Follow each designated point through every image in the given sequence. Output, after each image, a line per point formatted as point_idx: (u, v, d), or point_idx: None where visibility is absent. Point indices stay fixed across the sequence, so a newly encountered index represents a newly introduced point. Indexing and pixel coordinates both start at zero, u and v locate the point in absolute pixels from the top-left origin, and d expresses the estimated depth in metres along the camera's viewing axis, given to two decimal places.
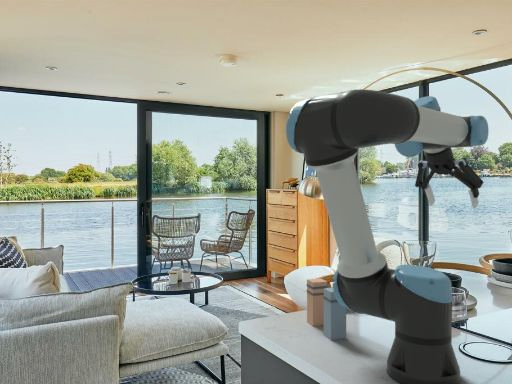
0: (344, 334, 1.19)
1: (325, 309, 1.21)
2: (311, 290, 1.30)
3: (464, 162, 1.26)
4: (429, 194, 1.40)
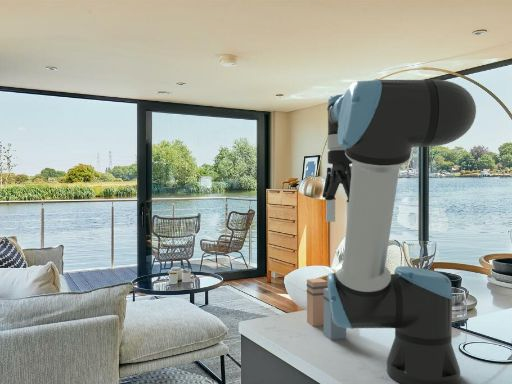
0: (344, 334, 1.19)
1: (325, 309, 1.21)
2: (311, 290, 1.30)
3: (352, 168, 1.19)
4: (328, 208, 1.32)
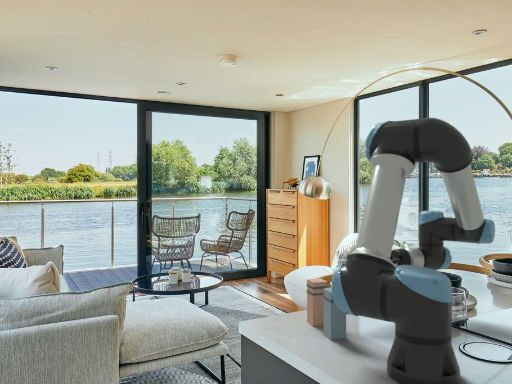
0: (344, 334, 1.19)
1: (325, 309, 1.21)
2: (311, 290, 1.30)
3: (394, 265, 1.32)
4: None
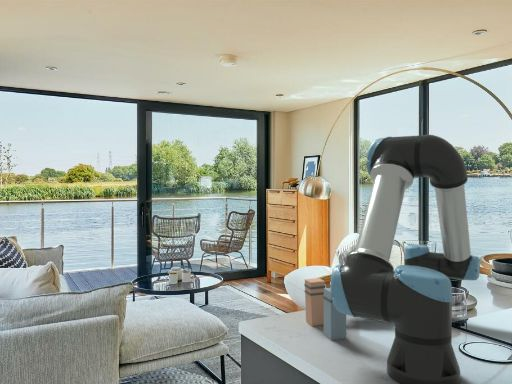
0: (344, 334, 1.19)
1: (325, 309, 1.21)
2: (309, 290, 1.30)
3: None
4: None
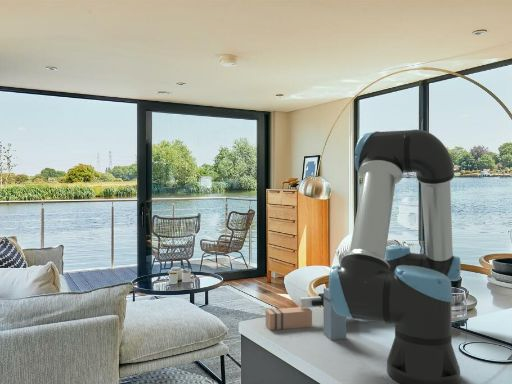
0: (344, 334, 1.19)
1: (325, 309, 1.21)
2: None
3: None
4: None
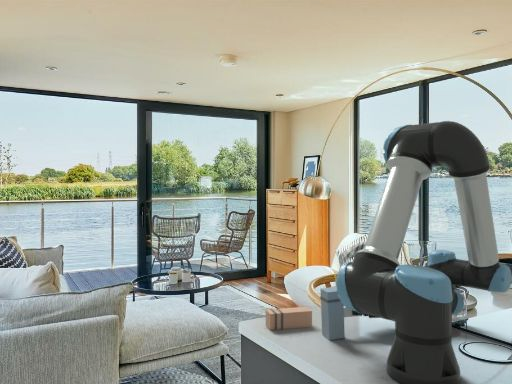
0: (342, 333, 1.18)
1: (323, 309, 1.20)
2: None
3: None
4: None
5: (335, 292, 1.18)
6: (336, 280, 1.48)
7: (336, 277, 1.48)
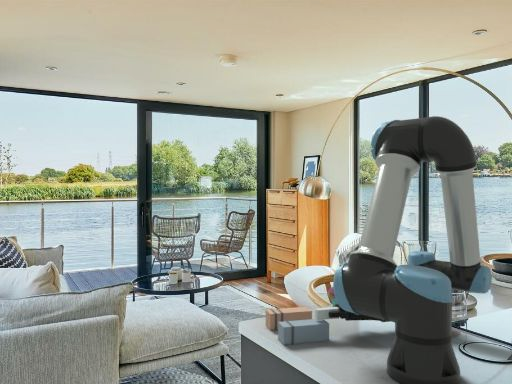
0: (325, 325, 1.17)
1: None
2: None
3: None
4: None
5: (284, 335, 1.14)
6: None
7: None
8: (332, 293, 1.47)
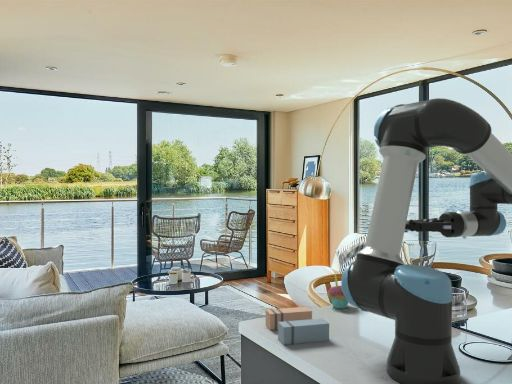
0: (325, 325, 1.17)
1: None
2: None
3: (448, 227, 1.22)
4: None
5: (284, 335, 1.14)
6: (336, 280, 1.48)
7: (336, 277, 1.48)
8: (332, 293, 1.47)
